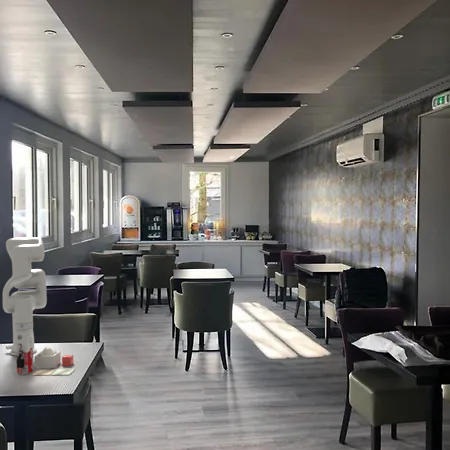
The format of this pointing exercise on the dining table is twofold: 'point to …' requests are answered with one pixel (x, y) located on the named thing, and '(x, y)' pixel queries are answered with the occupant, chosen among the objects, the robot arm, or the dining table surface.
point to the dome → (47, 352)
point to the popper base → (47, 360)
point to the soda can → (26, 363)
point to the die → (67, 360)
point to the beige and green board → (53, 372)
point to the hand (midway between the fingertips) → (25, 364)
